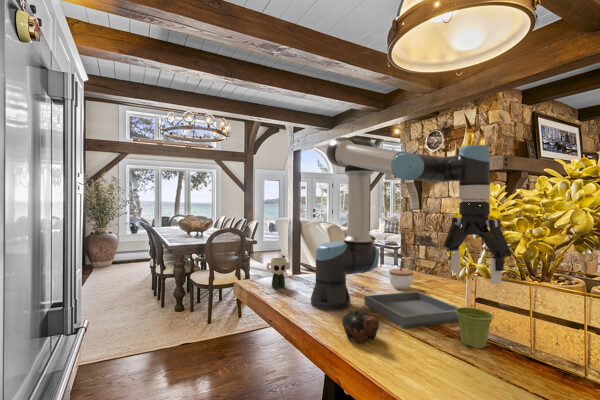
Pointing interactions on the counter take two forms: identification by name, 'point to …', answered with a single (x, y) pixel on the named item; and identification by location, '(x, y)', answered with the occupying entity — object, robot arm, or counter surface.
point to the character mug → (278, 271)
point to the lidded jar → (401, 278)
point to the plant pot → (474, 326)
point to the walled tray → (412, 309)
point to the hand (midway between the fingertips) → (474, 277)
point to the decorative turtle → (360, 325)
